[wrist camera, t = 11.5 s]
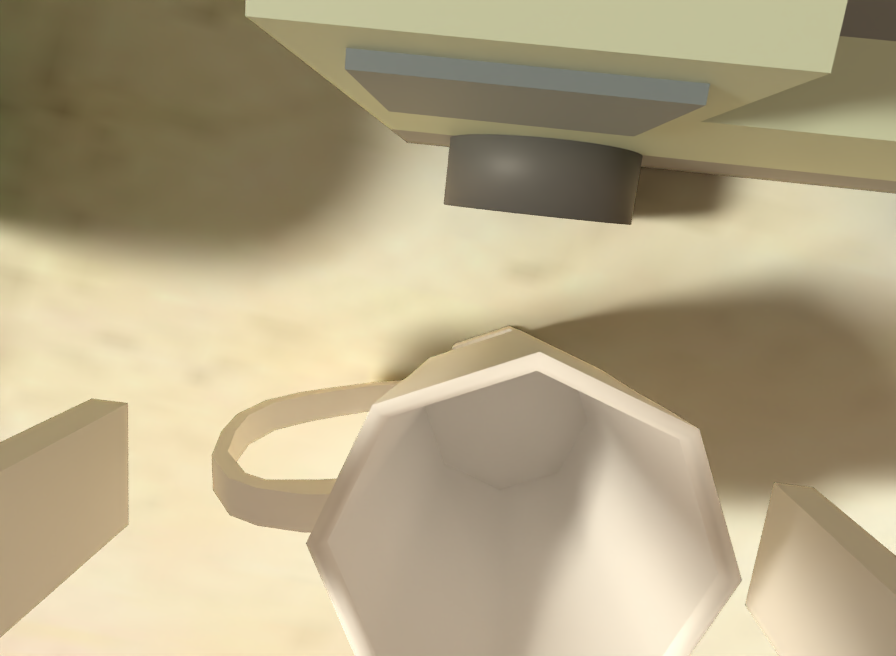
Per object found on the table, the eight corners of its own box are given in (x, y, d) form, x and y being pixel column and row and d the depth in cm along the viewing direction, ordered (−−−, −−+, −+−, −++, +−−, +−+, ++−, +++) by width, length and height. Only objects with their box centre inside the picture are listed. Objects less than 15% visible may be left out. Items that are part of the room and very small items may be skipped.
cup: (609, 515, 18) (709, 764, 10) (287, 489, 18) (139, 708, 10) (638, 288, 16) (784, 369, 8) (287, 266, 17) (112, 323, 9)
